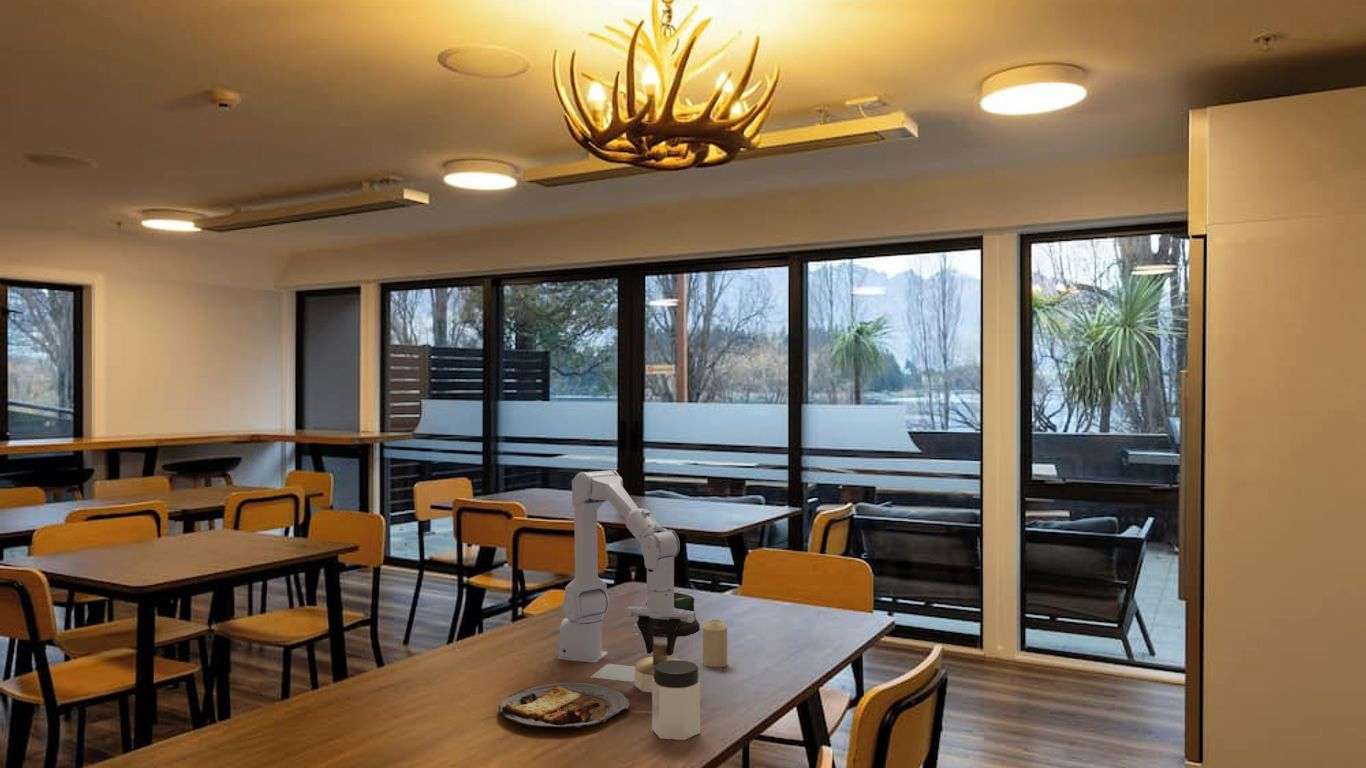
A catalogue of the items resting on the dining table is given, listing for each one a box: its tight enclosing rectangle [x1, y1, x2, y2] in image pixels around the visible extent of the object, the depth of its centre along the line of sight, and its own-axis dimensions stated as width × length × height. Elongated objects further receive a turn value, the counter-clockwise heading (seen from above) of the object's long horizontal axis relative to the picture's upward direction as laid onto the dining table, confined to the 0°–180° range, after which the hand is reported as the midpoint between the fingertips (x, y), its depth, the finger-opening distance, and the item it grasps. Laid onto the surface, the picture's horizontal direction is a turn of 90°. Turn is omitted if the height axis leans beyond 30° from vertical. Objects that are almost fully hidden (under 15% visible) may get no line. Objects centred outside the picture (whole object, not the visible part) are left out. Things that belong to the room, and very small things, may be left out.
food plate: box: [498, 682, 630, 730], centre depth 180 cm, size 25×23×4 cm
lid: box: [634, 642, 683, 675], centre depth 195 cm, size 10×10×5 cm
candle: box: [702, 619, 728, 668], centre depth 210 cm, size 6×6×10 cm
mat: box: [590, 663, 635, 683], centre depth 203 cm, size 10×10×1 cm
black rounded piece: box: [632, 591, 701, 638], centre depth 241 cm, size 20×20×9 cm
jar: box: [651, 659, 701, 741], centre depth 170 cm, size 9×8×12 cm
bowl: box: [634, 669, 654, 693], centre depth 195 cm, size 10×10×4 cm
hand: (660, 653), depth 195 cm, fingers open, 4 cm apart
